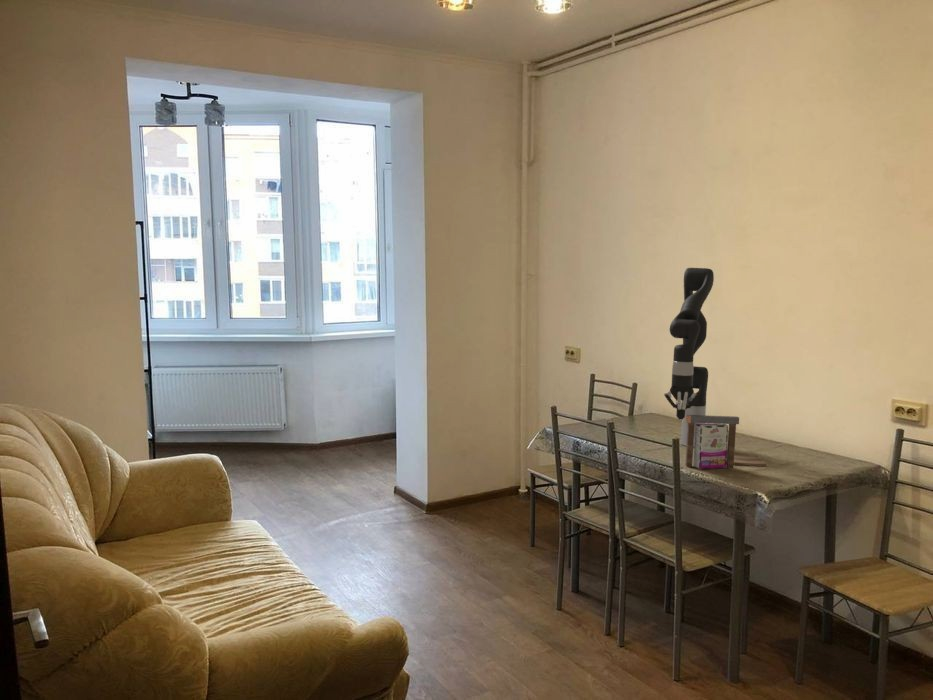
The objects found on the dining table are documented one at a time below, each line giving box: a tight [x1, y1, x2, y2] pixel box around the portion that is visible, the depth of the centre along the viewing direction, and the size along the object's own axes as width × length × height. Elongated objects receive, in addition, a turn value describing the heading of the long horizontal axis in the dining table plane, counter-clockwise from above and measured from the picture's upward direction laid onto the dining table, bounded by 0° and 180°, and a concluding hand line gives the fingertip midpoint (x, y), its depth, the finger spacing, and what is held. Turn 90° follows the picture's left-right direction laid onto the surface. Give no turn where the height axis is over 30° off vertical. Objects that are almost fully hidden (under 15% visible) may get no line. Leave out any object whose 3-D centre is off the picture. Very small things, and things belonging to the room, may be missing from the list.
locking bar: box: [685, 414, 740, 425], centre depth 264 cm, size 2×19×3 cm, turn 85°
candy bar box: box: [693, 423, 729, 470], centre depth 265 cm, size 11×5×16 cm, turn 101°
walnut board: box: [726, 454, 767, 467], centre depth 275 cm, size 12×16×1 cm
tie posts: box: [685, 423, 737, 469], centre depth 265 cm, size 2×17×17 cm, turn 85°
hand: (680, 419), depth 265 cm, fingers closed
